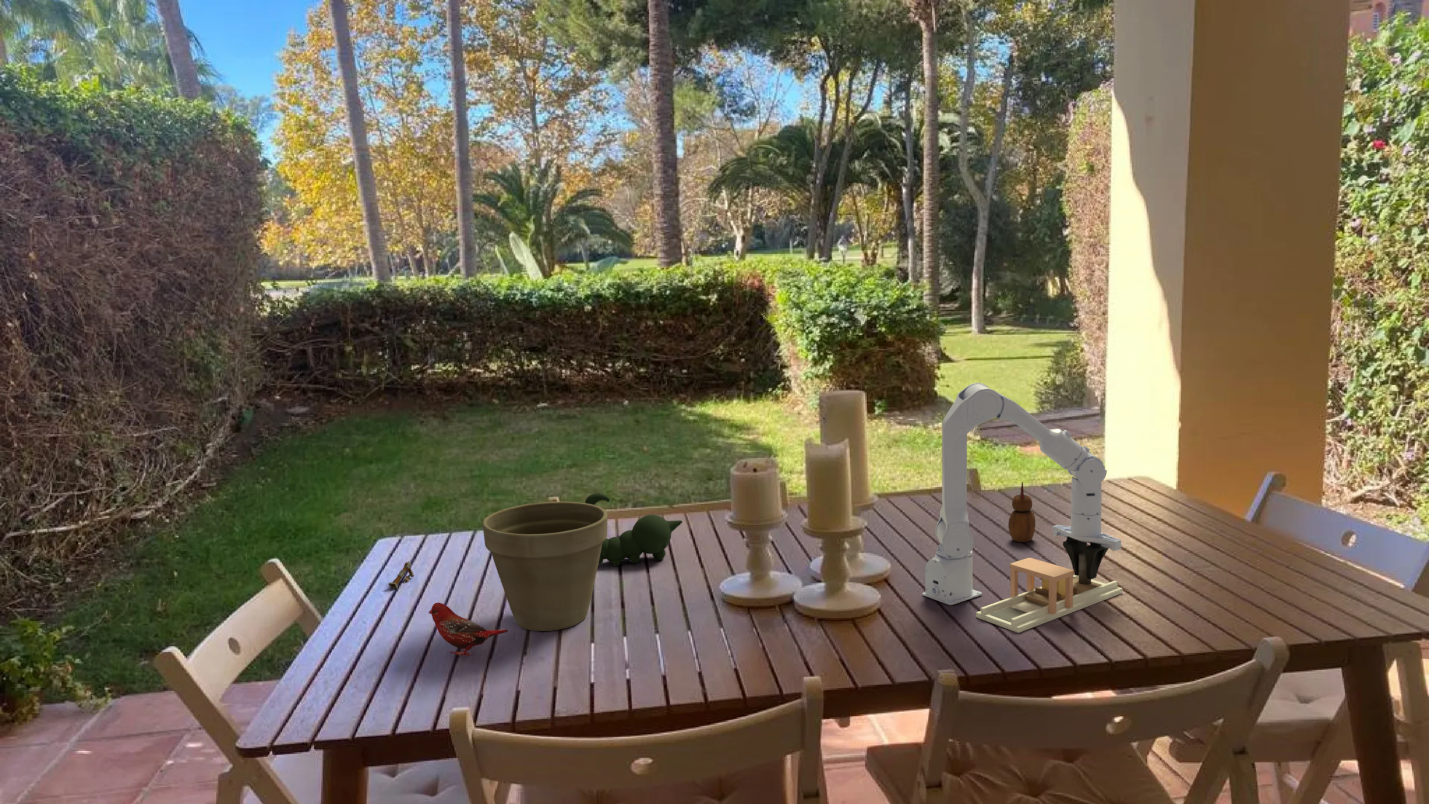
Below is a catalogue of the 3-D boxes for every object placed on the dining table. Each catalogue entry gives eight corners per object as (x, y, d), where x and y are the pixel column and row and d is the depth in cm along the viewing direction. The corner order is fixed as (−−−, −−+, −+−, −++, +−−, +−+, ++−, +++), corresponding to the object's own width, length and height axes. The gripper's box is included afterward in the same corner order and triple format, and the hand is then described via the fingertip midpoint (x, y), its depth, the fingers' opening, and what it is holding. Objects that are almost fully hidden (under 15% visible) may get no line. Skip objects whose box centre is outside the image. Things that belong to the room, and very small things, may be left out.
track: (1019, 633, 171) (1019, 589, 170) (975, 616, 180) (975, 574, 179) (1123, 593, 188) (1123, 553, 187) (1078, 580, 197) (1078, 541, 196)
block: (1058, 597, 182) (1059, 578, 182) (1041, 592, 185) (1041, 573, 185) (1071, 593, 184) (1071, 573, 184) (1054, 587, 188) (1054, 568, 187)
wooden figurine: (1029, 545, 222) (1029, 484, 219) (1005, 542, 225) (1005, 482, 223) (1038, 538, 227) (1038, 478, 225) (1015, 535, 230) (1015, 476, 228)
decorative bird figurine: (436, 648, 177) (432, 598, 176) (515, 659, 171) (511, 607, 169) (427, 655, 175) (422, 604, 173) (506, 665, 168) (502, 613, 167)
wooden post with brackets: (418, 573, 221) (412, 559, 218) (401, 597, 214) (394, 583, 212) (411, 573, 221) (405, 558, 219) (394, 597, 215) (387, 582, 212)
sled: (1049, 607, 179) (1049, 574, 178) (1025, 599, 184) (1025, 566, 183) (1101, 588, 188) (1102, 556, 187) (1077, 581, 193) (1077, 549, 192)
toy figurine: (585, 579, 218) (689, 559, 222) (572, 502, 215) (678, 483, 219) (584, 567, 227) (684, 548, 231) (572, 492, 224) (673, 475, 228)
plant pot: (638, 608, 193) (632, 507, 190) (555, 652, 173) (546, 540, 170) (551, 589, 207) (544, 495, 204) (465, 628, 187) (455, 524, 184)
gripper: (1130, 515, 184) (1129, 581, 186) (1067, 501, 196) (1067, 563, 198) (1109, 521, 180) (1108, 589, 182) (1046, 507, 192) (1045, 570, 194)
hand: (1085, 576), depth 190 cm, fingers closed on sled, 2 cm apart
